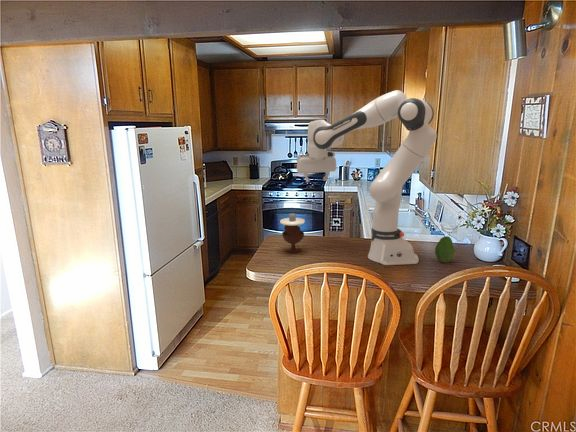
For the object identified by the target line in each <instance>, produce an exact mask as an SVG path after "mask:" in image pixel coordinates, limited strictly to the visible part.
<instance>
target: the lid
mask: <svg viewBox="0 0 576 432" xmlns="http://www.w3.org/2000/svg"><path fill="white" fill-rule="evenodd" d="M305 221H306V220H305V219H304V218H302V217H296V213H289V214H288V217H286V218H282V219H280V221H279V223H280V224H281V225H283V226H285V225H288V226H295V225H297V226H301V225H304V224H305Z"/></svg>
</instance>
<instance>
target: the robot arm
mask: <svg viewBox="0 0 576 432" xmlns="http://www.w3.org/2000/svg"><path fill="white" fill-rule="evenodd" d="M434 114H435V112H434V109H433V106H432V105H431V104H430V103H428V102H427V101H425V100H424V99H423V100H422V99H420V98H416V97H413V98H407V95H406V94H405V93H404V92H403V91H402V90H400V89H399V90H398V89H395V90H393V91H389V92H387V93H385V94H382V95H380V96H378V97H376V98H375V99H373V100H371V101H369V102H368V103H366V105H364V106H363V107H361V108H360V109H357V111H355V112H353V113H352V114H350V115H349V116H347V117H345V118H342V119H341V120H339V121H337V122H335V123H333V124H331V123H328V122H327V121H326V120H325V119H321V118H320V119H315V120H311V121H310V122H309V123H308V127H307V153H304V154H303V153H300V154H299V155H298V156H297V157H296V163H297V164H296V172H297V173H298V174H303V177H304V178H305V182H306V183H310V182H311V179H310V178H309V177H308V174H314V173H315V174H316V173H325V175H324V176H323V177H322V180H323V182H326V181H328V177H329V175H330V172H331V173H332V172H336V170H337V160H336V159H337V158H335V156H336V153H335V152H334V151H330V150H328V149H331V148H336V147H338V146H341V145H342V144H343V143H344V142H345V138H346V134H349V133H351V132H353V131H355V130H356V131H357V130H360V129H369V128H370V129H371V128H375V127H379V126H381V125H383V124H386V123H388V122H389V121H391V120H393V119H396V118H398V120H399V121H400V122H401V124H402V125H403V126H404V128H405V129H406V130H407V131H408V135H407V136H406V138H405V139H404V140H403V141H402V143H401V145H400V146H399V148H398V149H397V150H396V152H395V153H394V155H393V156H392V157H391V159H390V160H389V161H388V162H387V163H386V164H385V166H384V167H383V168H382V169H381V171H380V172H379V173H378V174H377V176H376V177H375V178H374V179H373V181H372V182H371V184H370V185H369V194H370V197H371V199H373V200H375V202H374V208H373V210H372V211H373V212H372V227H371V231H370V240H371V242H370V243H371V244H370V249H369V250H368V254H367V258H368V259H369V260H370V261H372V262H375V263H378V264H381V265H384V266H395V265H397V266H399V265H417V264H418V263H419V260H420V259H419V256H418V255H417V254H416V253H415V252H414V248H413V245H412V244H411V243H410V242H409V241H407V240H406V239H405V238H404V237H405V232H403V231H402V230H401V229H400V228H398V227H399V226H398V225H399V210H400V205H401V200H402V194H403V193H402V192H403V187H404V185H405V183H406V182H407V181H408V180H409V179H410V178H411V176H412V175H413V174H414V172H415V171H416V170H417V169H418V168H419V166H420V165H421V163H422V162H423V161H424V160H425V158H426V157H427V155H428V154H430V152H431V149H432V148H433V146H434V144H435V142H436V140H437V133H436V130H435V129H434V128H433V127H431V126H430V124H431V122H432V121H433V120H434V116H435V115H434Z"/></svg>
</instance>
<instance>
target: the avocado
mask: <svg viewBox="0 0 576 432" xmlns="http://www.w3.org/2000/svg"><path fill="white" fill-rule="evenodd" d="M434 253H435V256H436V258H437V260H438V261H439V262H441V263H446V264H447V263H449V262H451V261H452V260H453V258H454V256H455V247H454V243H453V239H452V237H450V236H448V235H446V236H445V235H444V236H442V237H441V238H440V239H439V241H438V242H437V244H436V245H435V248H434Z"/></svg>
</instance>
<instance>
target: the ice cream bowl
mask: <svg viewBox="0 0 576 432" xmlns="http://www.w3.org/2000/svg"><path fill="white" fill-rule="evenodd" d="M283 229H284V231H282V232H281V234H282V238H283V240H284V241H285V242H286V243H288V244H290V245H291V248H289V249H288V250H287V252H288V253H290V254H298V253H299V249H298V248H296V244H297V243H300V242H301V241H302V240H303V239H304V237H305V232H304V231H302V229H301V227H300V225H295V226H288V225H284V228H283Z"/></svg>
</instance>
